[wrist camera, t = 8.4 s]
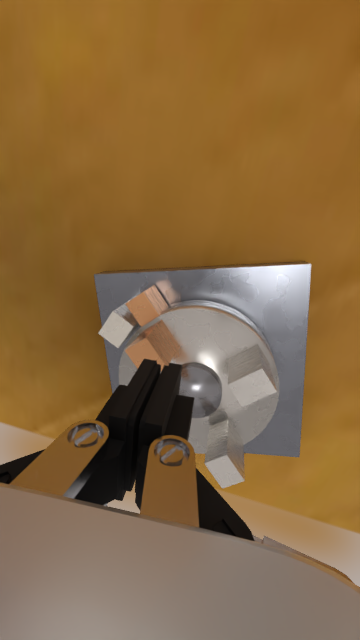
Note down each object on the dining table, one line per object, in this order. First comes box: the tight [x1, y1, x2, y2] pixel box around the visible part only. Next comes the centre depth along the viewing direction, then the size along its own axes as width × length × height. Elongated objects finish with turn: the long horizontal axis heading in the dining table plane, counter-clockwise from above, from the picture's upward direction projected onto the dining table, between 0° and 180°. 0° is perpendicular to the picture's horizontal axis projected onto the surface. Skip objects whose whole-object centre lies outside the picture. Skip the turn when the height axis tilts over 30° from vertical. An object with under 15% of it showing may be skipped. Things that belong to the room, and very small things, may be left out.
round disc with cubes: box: [119, 285, 279, 488], centre depth 22 cm, size 15×13×7 cm
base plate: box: [94, 261, 311, 457], centre depth 25 cm, size 18×18×6 cm
